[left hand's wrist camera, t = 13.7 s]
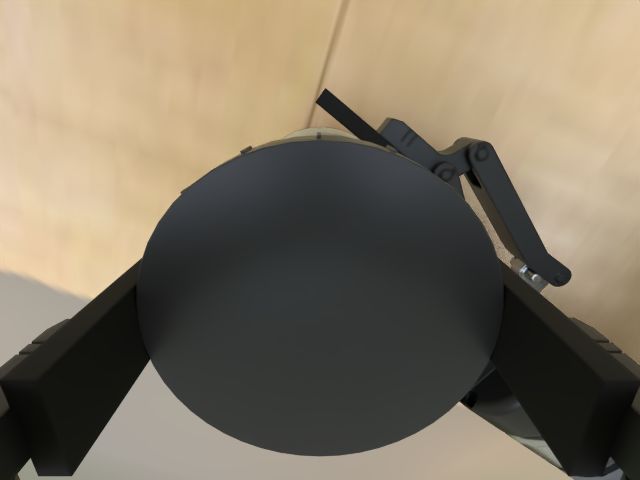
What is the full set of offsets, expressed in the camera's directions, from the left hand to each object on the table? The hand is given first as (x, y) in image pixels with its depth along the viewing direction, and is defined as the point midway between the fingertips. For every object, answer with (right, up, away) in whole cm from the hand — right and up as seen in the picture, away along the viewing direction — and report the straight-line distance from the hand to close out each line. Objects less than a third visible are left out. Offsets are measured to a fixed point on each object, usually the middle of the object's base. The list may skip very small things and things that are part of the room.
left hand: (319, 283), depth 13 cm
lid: (0, -1, -2) cm, 3 cm away
